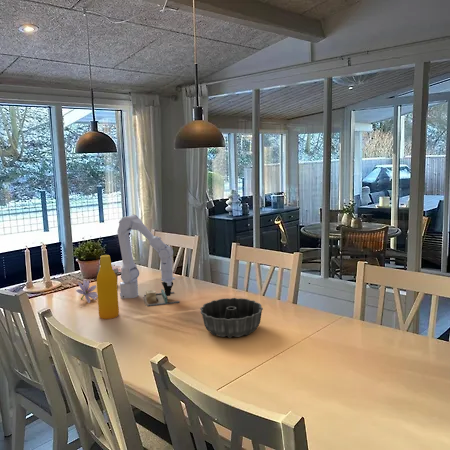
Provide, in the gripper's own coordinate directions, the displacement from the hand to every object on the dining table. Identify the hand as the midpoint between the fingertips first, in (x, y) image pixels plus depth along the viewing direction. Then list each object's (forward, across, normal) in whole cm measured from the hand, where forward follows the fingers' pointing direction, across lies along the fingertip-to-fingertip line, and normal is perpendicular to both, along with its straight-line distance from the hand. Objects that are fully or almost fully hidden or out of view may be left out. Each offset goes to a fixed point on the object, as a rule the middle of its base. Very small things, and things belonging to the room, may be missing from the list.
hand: (167, 295), depth 227 cm
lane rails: (+2, 0, +4) cm, 4 cm away
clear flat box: (+2, 0, +7) cm, 7 cm away
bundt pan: (+3, -49, -20) cm, 53 cm away
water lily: (+3, +14, +40) cm, 42 cm away
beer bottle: (+3, -14, +30) cm, 33 cm away
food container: (+3, +39, +30) cm, 49 cm away
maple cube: (+2, 0, +9) cm, 9 cm away
